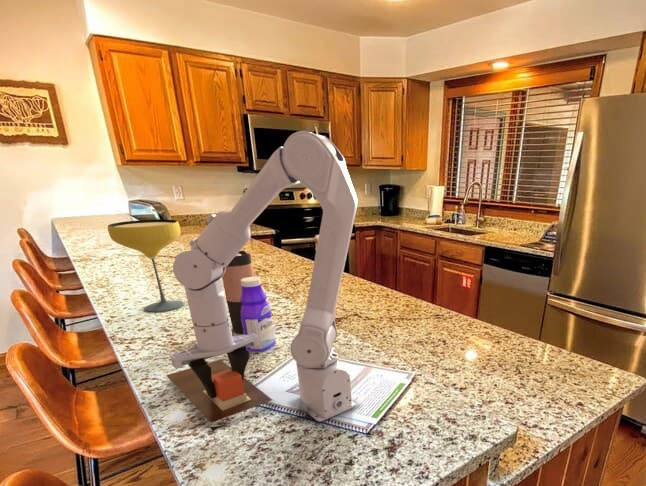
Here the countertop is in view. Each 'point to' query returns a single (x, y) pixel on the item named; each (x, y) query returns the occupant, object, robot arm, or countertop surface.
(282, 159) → the robot arm
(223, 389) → the orange cube on base
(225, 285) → the travel mug
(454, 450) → the countertop surface
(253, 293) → the bottle
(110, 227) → the cocktail glass
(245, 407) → the flat brown mat
